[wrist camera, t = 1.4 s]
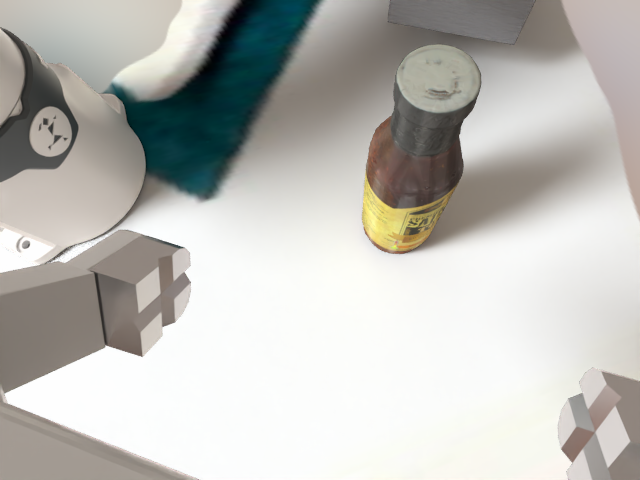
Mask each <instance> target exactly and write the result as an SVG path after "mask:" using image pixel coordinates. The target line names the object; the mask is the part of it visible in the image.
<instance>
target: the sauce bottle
mask: <svg viewBox="0 0 640 480" xmlns="http://www.w3.org/2000/svg"><path fill="white" fill-rule="evenodd" d="M480 87H481V73H480V71H479V69H478V67H477V65H476V63H475V62H474V60H473V59H472V58H471V56H469V55H468V54H466V53H465V52H464V51H463V50H460V49H458V48H456V47H453V46H449V45H441V44H435V45H426V46H424V47H420V48H418V49H416V50H414V51H412V52H410V53H409V54H408V55H407V56H406V57H405V58H404V59H403V61H402V62H401V64H400V66H399V67H398V69H397V73H396V77H395V83H394V92H393V94H394V101H395V108H394V112H393V113H392V116H390V117H389V118H387V119H386V120H385V121H384V122H383V123H381V124H380V126H379V127H378V128H377V129H376V130H375V133H374V135H373V138H372V141H371V143H370V147H369V155H368V160H367V163H366V173H365V186H364V199H363V212H362V221H363V225H364V230H365V234H366V235H367V236H368V238H369V240H370V241H371V242H372V243H373V244H374V245H375V246H376V247H377V248H378V249H380V250H382V251H384V252H388V253H392V254H394V253H395V254H403V253H406V252H409V251H411V250H413V249H414V248H416V247H418V246H419V245H420V244H422V243H423V242H424V241H425V240H426V239H427V238H428V236H429V235H430V233H431V231H432V230H433V228H434V226H435V224H436V222H437V221H438V219H439V217H440V215H441V213H442V211H443V210H444V208H445V206H446V205H447V203H448V201H449V199H450V197H451V195H452V193H453V191H454V190H455V188H456V186H457V184H458V182H459V180H460V178H461V176H462V173H463V167H464V165H463V159H462V153H461V146H460V139H459V134H460V130H461V125H462V123H463V120H464V119H465V118H466V117H467V116H468V115H469V113H470V112H471V111H472V109H473V108H474V105H475V103H476V99H477V97H478V94H479V91H480Z"/></svg>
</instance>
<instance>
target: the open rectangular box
mask: <svg viewBox="0 0 640 480" xmlns="http://www.w3.org/2000/svg"><path fill="white" fill-rule="evenodd" d="M535 1H536V0H390V4H389V16H388V22H391V23H396V24H402V25H407V26H413V27H418V28H424V29H429V30H435V31H440V32H446V33H451V34H457V35H462V36H468V37H473V38H479V39H484V40H490V41H495V42H501V43H506V44H512V45H514V44H515V42H516V40H517V38H518V36H519V34H520V32H521V29H522V27H523V25H524V23H525V21H526V19H527V17H528V15H529V13H530V11H531V9H532V7H533V5H534V3H535Z"/></svg>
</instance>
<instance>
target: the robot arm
mask: <svg viewBox="0 0 640 480" xmlns="http://www.w3.org/2000/svg"><path fill="white" fill-rule="evenodd" d="M145 169H146V162H145V154H144V150H143V147H142V144H141V142H140V140H139V138H138V137H137V135H136V134H135V133H134V131H133V130H132V129H131V127H130V126H129V124H128V123H127V119H126V113H125V108H124V105H123V103H122V101H121V100H120V99H118V98H117V97H116V96H115V95H113V94H101V93H97V92H96V91H95V90H93V89H92V88H91V87H90V86H89V85H88V84H87V83H85V82H84V81H83V80H82V79H81V78H80V77H78V76H77V75H76V74H75V73H74V72H73V71H72V70H71V69H69V68H68V67H67V66H65V65H63V64H61V63H58V64H53V63H45V62H44V60H43V59H42V58H41V56H40V55H39V54H38V53H37V52H36V51H34V50H33V49H32V48H31V47H30V46H28V44H25V43H24V42H23V41H21V40H20V39H19V38H18V37H17V36H15V35H14V34H13V33H11V32H9V31H8V30H5V29H3V28H0V245H2V246H4V247H5V248H7V249H9V250H10V251H12V252H13V253H15V254H17V255H18V256H20V257H22V258H23V259H25V260H27V261H29V262H31V263H33V264H36V265H38V266H33V267H28V268H23V269H18V270H13V271H8V272H3V273H0V480H199V479H197V478H194V477H192V476H189V475H186V474H184V473H181V472H179V471H176V470H174V469H171V468H169V467H166V466H164V465H161V464H159V463H156V462H154V461H151V460H149V459H146V458H144V457H141V456H139V455H136V454H133V453H131V452H128V451H126V450H123V449H121V448H118V447H116V446H113V445H111V444H108V443H106V442H103V441H101V440H98V439H96V438H93V437H91V436H88V435H86V434H83V433H80V432H78V431H75V430H73V429H70V428H68V427H65V426H63V425H60V424H58V423H55V422H53V421H50V420H48V419H45V418H43V417H40V416H38V415H35V414H33V413H30V412H27V411H25V410H22V409H20V408H17V407H15V406H12V405H10V404H8V403H7V400H6V397H5V394H4V393H6V392H9V391H11V390H13V389H15V388H17V387H20V386H22V385H24V384H26V383H28V382H31V381H33V380H35V379H37V378H39V377H42V376H44V375H46V374H48V373H50V372H53V371H55V370H57V369H59V368H61V367H64V366H66V365H68V364H70V363H72V362H75V361H77V360H79V359H81V358H83V357H85V356H88V355H90V354H92V353H94V352H96V351H99V350H101V349H103V348H105V345H106V346H109V347H113V348H116V349H119V350H122V351H125V352H128V353H132V354H135V355H138V356H141V357H143V356H144V355H145V354H146V353H147V352H148V351H149V350H150V349H151V348H152V346H153V345H154V344H155V343H156V342H157V341H158V340H159V339H160V338H161V337H162V327H164V326H166V325H169V324H172V323H175V322H176V321H177V320H178V318H179V317H180V316H181V315H182V314H183V312H184V310H185V308H186V306H187V304H188V302H189V297H190V292H191V282H190V281H189V279H188V277H187V276H186V274H185V273H184V272H185V271H186V270H187V269H188V268H189V267H190V252H189V251H188V250H187V249H186V248H184V247H181V246H178V245H175V244H171V243H168V242H165V241H162V240H159V239H156V238H153V237H149V236H145V235H143V234H139V233H136V232H133V231H129V230H118V231H117V232H115V233H113V234H112V235H110V236H109V237H107V238H105V239H104V240H102V241H100V242H99V243H97V244H96V245H94V246H92V247H91V248H89V249H87V250H86V251H84V252H83V253H81V254H79V255H78V256H76V257H74V258H73V259H71V260H70V261H68V262H66V263H62V262H59V261H58V262H53V263H48V264H43V263H45V262H47V261H49V260H50V259H52V258H53V257H55V256H56V255H57V254H59V253H60V252H61V251H63V250H64V249H65V248H67V247H69V246H72V245H75V244H78V243H81V242H85V241H88V240H90V239H93V238H95V237H97V236H99V235H101V234H103V233H104V232H106V231H107V230H109V229H110V228H112V227H113V226H114V225H115V224H117V223H118V222H119V221H120V220H121V219H122V218H123V217H124V216H125V215H126V213H127V212H128V211H129V210H130V208H131V207H132V206H133V204H134V202H135V201H136V199H137V197H138V195H139V193H140V190H141V188H142V185H143V181H144V177H145ZM29 244H30V246H29V248H27V247H28V245H29ZM39 264H43V265H39ZM579 384H580V387H581V390H582V393H581V394H579V395H576V396H574V397H571V398H568V400H567V402H566V403H565V405H564V407H563V408H562V410H561V413H560V418H559V422H558V438H559V443H560V447H561V450H562V451H563V452H564V453H565V455H566V456H567V457H568V458H569V459H570V461H571V462H572V464H571V466H570V467H569V469H568V470H567V471H566V472H567V476H568V480H640V381H638V380H635V379H631V378H628V377H624V376H621V375H617V374H614V373H610V372H607V371H603V370H600V369H596V368H591V369H590V370H588V371H587V372H585V374H584V375H583V377H582V378H581V380H580V381H579Z"/></svg>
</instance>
